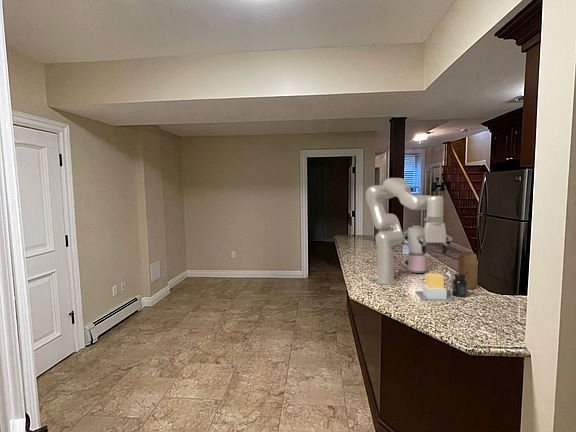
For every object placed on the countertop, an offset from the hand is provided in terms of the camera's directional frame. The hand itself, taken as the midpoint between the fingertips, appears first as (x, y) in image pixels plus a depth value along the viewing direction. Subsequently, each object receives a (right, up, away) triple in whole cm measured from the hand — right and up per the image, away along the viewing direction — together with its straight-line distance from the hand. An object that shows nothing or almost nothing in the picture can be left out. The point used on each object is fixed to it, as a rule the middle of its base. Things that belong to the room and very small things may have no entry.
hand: (434, 253), depth 169 cm
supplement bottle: (+14, -23, +1) cm, 27 cm away
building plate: (+1, -23, +1) cm, 23 cm away
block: (+27, -22, +19) cm, 40 cm away
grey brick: (+1, -22, +1) cm, 22 cm away
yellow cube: (0, -17, +1) cm, 17 cm away
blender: (+12, -20, +57) cm, 61 cm away
